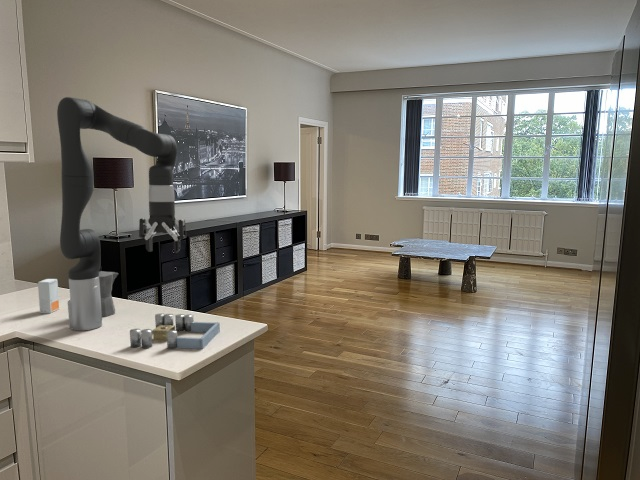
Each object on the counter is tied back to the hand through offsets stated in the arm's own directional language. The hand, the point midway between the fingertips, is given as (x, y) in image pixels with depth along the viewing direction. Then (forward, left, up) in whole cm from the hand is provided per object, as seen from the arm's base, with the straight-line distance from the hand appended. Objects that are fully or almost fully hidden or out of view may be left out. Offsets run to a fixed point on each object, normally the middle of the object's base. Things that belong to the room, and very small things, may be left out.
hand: (163, 251), depth 149 cm
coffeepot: (-35, +21, -28) cm, 50 cm away
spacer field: (0, -1, -28) cm, 28 cm away
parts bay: (+10, -1, -28) cm, 29 cm away
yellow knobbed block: (0, -1, -28) cm, 28 cm away
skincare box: (-56, +23, -28) cm, 67 cm away
